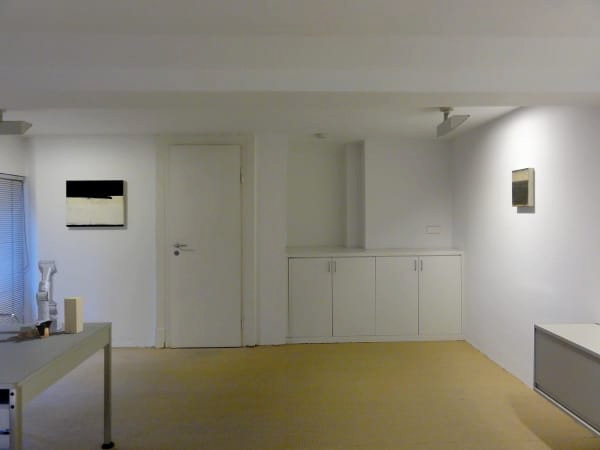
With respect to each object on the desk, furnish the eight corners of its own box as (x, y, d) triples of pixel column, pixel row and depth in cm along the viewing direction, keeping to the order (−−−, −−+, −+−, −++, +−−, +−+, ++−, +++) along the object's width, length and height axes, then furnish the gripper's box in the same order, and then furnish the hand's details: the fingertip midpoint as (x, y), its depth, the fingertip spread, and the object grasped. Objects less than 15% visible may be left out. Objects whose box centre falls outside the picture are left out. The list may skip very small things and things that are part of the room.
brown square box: (39, 334, 263) (39, 328, 263) (32, 338, 255) (32, 332, 255) (25, 335, 262) (25, 329, 262) (18, 338, 254) (18, 333, 254)
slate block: (36, 329, 262) (36, 323, 261) (31, 332, 256) (30, 326, 255) (25, 330, 261) (25, 324, 261) (20, 332, 255) (20, 326, 255)
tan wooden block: (84, 330, 270) (83, 296, 269) (77, 333, 262) (75, 298, 262) (72, 330, 270) (71, 296, 270) (64, 333, 263) (63, 298, 263)
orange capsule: (50, 335, 258) (49, 327, 258) (46, 337, 253) (46, 329, 253) (42, 336, 257) (42, 327, 257) (38, 338, 253) (38, 329, 253)
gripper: (42, 309, 262) (43, 331, 262) (29, 314, 248) (30, 338, 248) (54, 309, 263) (55, 331, 263) (42, 314, 248) (43, 337, 248)
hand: (44, 334), depth 255 cm, fingers closed on orange capsule, 4 cm apart
